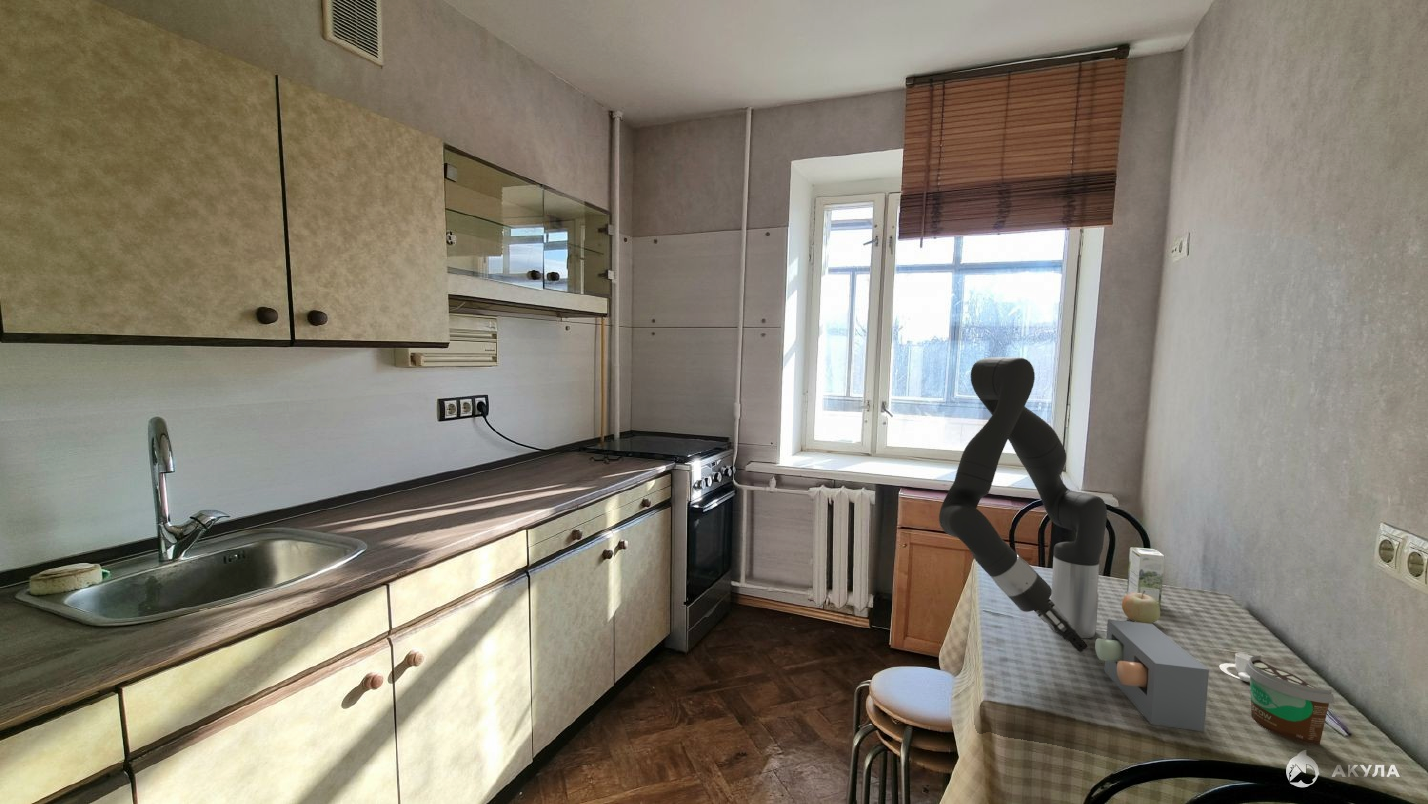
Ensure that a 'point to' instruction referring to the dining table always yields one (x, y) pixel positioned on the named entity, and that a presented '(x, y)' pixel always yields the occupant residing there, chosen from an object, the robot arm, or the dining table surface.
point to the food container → (1287, 702)
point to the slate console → (1161, 676)
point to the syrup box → (1146, 572)
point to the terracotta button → (1132, 673)
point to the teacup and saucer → (1238, 666)
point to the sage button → (1109, 650)
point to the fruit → (1141, 608)
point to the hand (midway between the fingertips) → (1082, 647)
